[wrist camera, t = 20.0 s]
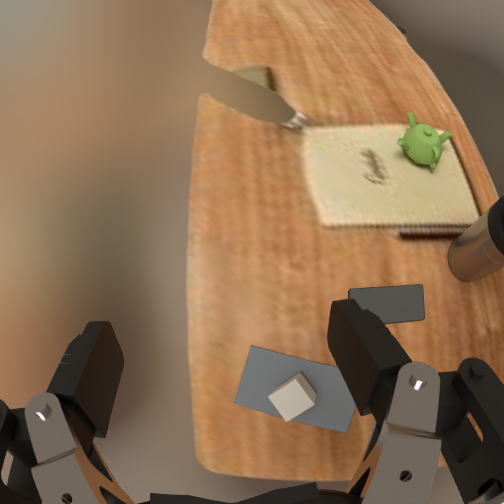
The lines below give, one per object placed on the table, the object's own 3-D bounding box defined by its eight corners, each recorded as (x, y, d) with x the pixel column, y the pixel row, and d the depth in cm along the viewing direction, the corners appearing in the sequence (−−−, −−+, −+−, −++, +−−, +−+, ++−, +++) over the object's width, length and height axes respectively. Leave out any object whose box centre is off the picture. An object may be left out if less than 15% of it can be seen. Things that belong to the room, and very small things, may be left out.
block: (314, 404, 36) (316, 391, 46) (295, 378, 38) (301, 370, 47) (286, 422, 36) (293, 406, 46) (267, 396, 38) (278, 385, 48)
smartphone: (425, 319, 44) (349, 326, 48) (423, 320, 45) (348, 326, 49) (423, 283, 46) (348, 288, 50) (421, 284, 47) (347, 289, 50)
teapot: (434, 182, 51) (446, 161, 43) (390, 158, 55) (396, 135, 47) (445, 148, 52) (455, 126, 44) (403, 127, 56) (409, 103, 49)
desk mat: (365, 372, 45) (366, 373, 44) (346, 431, 42) (346, 432, 42) (251, 345, 52) (251, 345, 51) (235, 402, 49) (234, 402, 49)
